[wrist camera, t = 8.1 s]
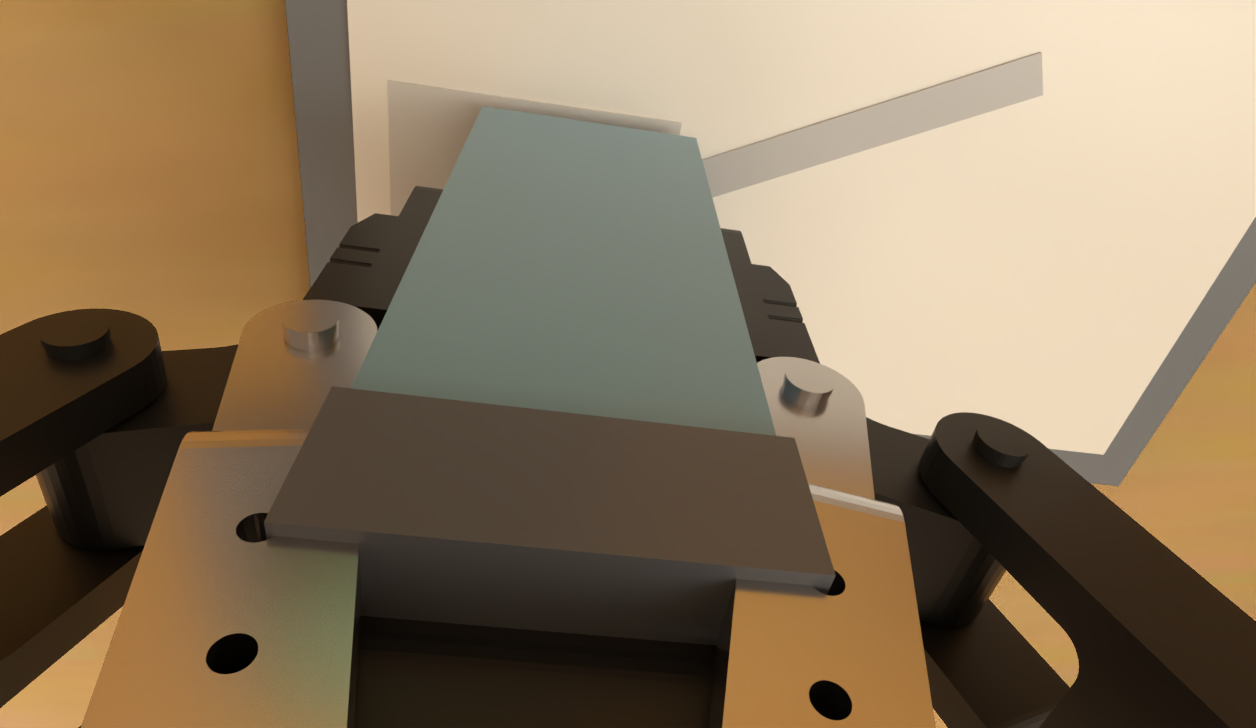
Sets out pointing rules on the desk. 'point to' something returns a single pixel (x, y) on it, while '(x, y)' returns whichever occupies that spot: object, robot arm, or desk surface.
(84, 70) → the desk surface
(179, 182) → the desk surface
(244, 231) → the desk surface
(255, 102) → the desk surface
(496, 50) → the whiteboard
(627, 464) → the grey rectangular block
